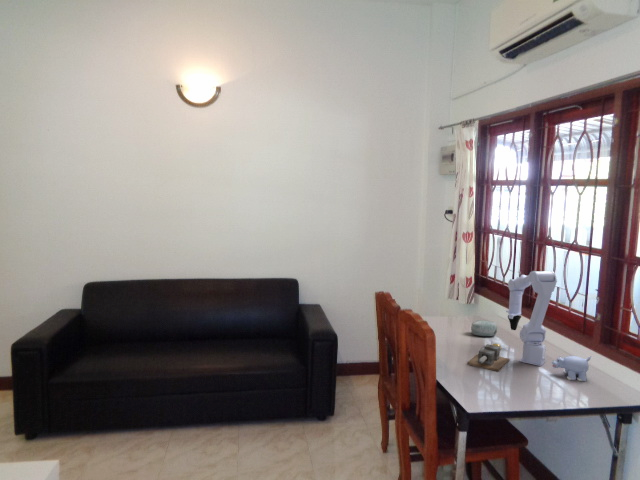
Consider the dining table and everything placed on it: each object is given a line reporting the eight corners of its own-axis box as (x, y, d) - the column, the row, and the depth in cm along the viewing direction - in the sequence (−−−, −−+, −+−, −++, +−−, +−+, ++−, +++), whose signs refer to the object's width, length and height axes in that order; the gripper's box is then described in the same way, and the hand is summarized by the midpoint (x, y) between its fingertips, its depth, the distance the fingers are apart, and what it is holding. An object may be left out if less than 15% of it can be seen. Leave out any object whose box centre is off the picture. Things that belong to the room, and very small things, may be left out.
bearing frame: (509, 360, 232) (510, 347, 231) (498, 371, 218) (499, 357, 217) (479, 354, 240) (480, 341, 239) (467, 364, 226) (467, 350, 225)
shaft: (500, 353, 236) (501, 344, 236) (485, 366, 219) (486, 357, 218) (491, 351, 239) (492, 342, 238) (475, 364, 221) (476, 355, 221)
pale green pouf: (497, 327, 273) (494, 314, 268) (499, 339, 265) (497, 326, 260) (471, 330, 277) (468, 317, 272) (473, 343, 269) (470, 330, 264)
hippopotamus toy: (549, 369, 222) (551, 348, 221) (586, 373, 219) (588, 352, 217) (554, 378, 212) (555, 356, 211) (593, 382, 208) (594, 360, 207)
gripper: (511, 299, 255) (509, 324, 257) (502, 304, 243) (501, 331, 245) (525, 301, 251) (523, 327, 253) (517, 307, 239) (515, 334, 241)
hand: (513, 329), depth 249 cm, fingers closed
